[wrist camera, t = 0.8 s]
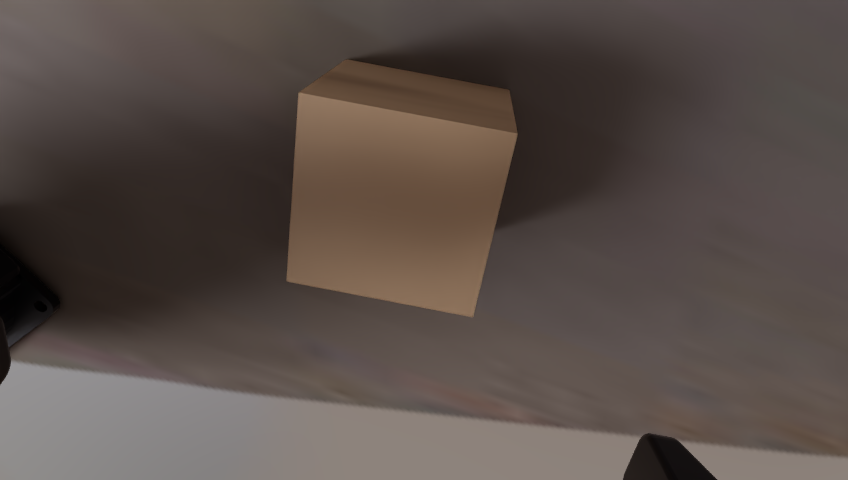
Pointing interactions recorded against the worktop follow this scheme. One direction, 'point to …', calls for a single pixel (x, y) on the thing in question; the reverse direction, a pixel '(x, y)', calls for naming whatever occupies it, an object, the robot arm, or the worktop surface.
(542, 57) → the worktop surface
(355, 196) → the walnut cube
